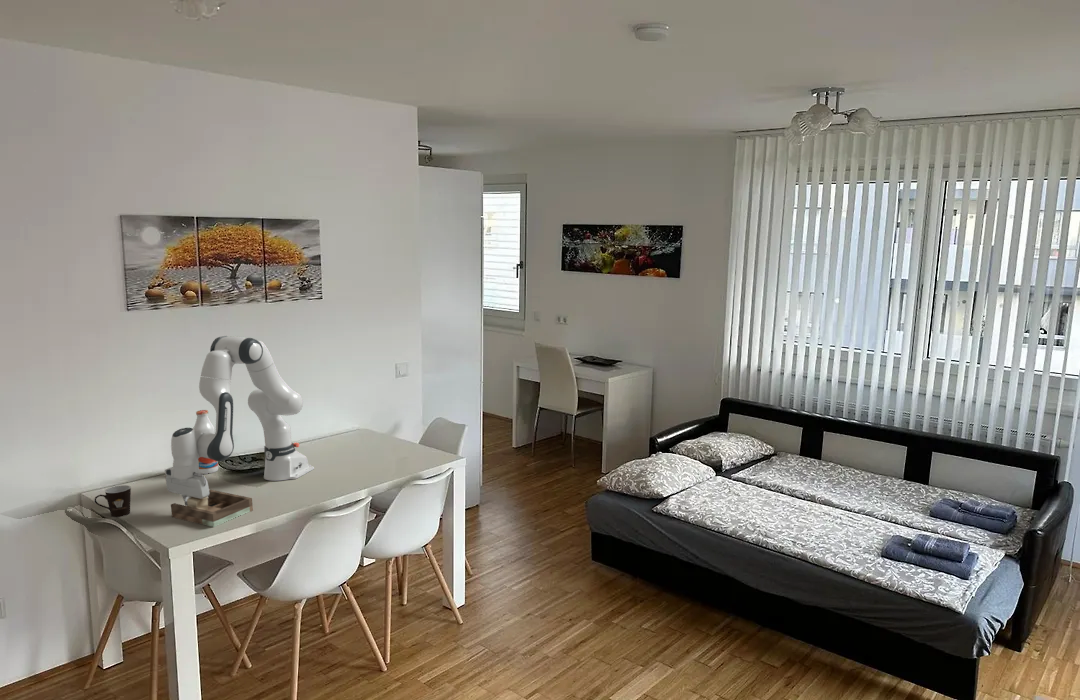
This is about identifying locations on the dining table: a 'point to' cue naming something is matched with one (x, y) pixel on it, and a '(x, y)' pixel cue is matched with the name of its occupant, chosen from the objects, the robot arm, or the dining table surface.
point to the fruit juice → (206, 426)
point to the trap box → (214, 509)
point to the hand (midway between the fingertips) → (189, 505)
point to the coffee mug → (117, 500)
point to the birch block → (198, 503)
